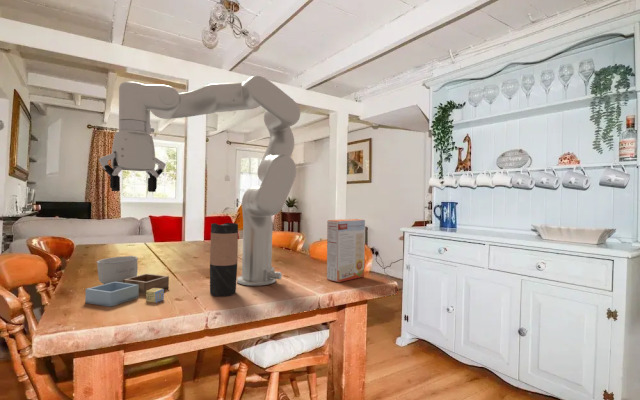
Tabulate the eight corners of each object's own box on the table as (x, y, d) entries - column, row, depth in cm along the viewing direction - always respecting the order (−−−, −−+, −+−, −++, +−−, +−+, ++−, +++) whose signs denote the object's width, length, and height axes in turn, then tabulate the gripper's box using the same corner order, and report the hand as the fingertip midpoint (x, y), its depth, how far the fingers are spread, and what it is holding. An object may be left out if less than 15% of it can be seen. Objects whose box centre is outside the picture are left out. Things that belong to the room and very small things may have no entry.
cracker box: (352, 274, 127) (353, 218, 127) (364, 277, 123) (366, 219, 123) (325, 279, 118) (326, 219, 118) (337, 283, 114) (339, 220, 113)
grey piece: (118, 290, 98) (119, 262, 98) (87, 287, 101) (87, 260, 101) (151, 279, 112) (152, 255, 112) (123, 276, 114) (123, 253, 114)
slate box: (138, 297, 92) (138, 284, 92) (110, 306, 84) (110, 292, 84) (114, 294, 94) (115, 281, 94) (85, 302, 86) (85, 288, 86)
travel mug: (229, 297, 94) (231, 225, 94) (203, 295, 95) (205, 224, 95) (240, 290, 101) (242, 223, 101) (217, 288, 103) (218, 222, 102)
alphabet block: (155, 303, 88) (155, 291, 88) (145, 302, 88) (145, 290, 88) (164, 300, 91) (164, 288, 91) (154, 298, 91) (154, 287, 91)
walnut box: (168, 287, 102) (168, 276, 102) (146, 295, 94) (146, 282, 94) (146, 285, 105) (146, 273, 105) (122, 291, 97) (123, 279, 97)
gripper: (158, 135, 103) (157, 192, 103) (93, 125, 89) (93, 191, 89) (171, 132, 98) (171, 192, 99) (106, 121, 84) (105, 191, 85)
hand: (134, 191), depth 94 cm, fingers open, 9 cm apart
